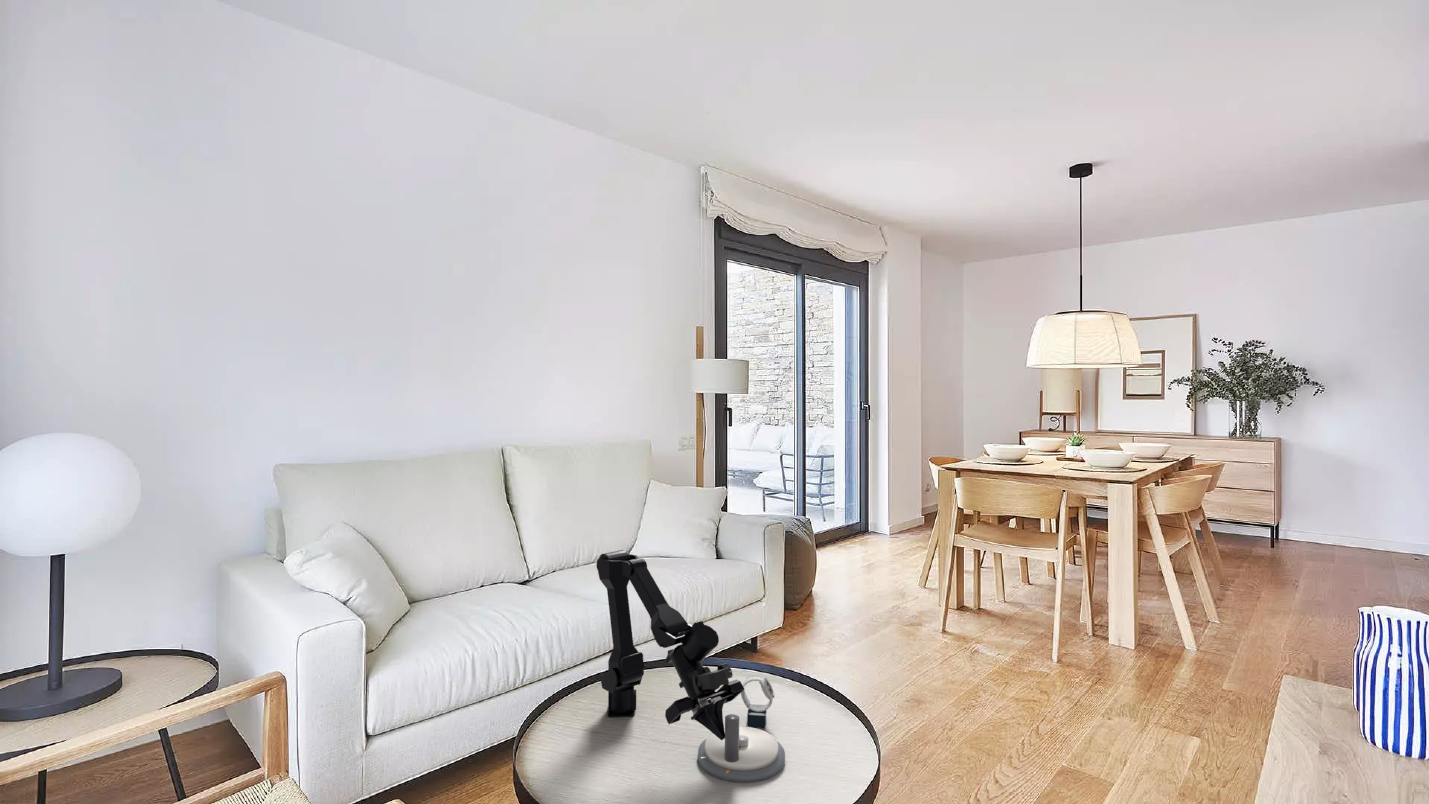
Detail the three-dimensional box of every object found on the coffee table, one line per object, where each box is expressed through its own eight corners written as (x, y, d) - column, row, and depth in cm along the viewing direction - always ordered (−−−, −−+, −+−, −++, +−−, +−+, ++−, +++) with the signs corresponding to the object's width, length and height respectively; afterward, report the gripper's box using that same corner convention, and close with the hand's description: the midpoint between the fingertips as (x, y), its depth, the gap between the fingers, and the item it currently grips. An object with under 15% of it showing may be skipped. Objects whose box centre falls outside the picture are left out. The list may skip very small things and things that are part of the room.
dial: (753, 779, 149) (753, 729, 149) (690, 754, 159) (690, 708, 158) (791, 746, 163) (792, 701, 162) (731, 725, 172) (731, 682, 171)
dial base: (701, 784, 150) (701, 776, 150) (695, 738, 169) (695, 731, 169) (792, 780, 152) (792, 773, 152) (776, 735, 171) (776, 728, 171)
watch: (773, 729, 174) (774, 683, 173) (739, 726, 175) (740, 681, 174) (774, 718, 179) (775, 673, 179) (741, 715, 180) (742, 672, 180)
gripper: (674, 663, 152) (708, 736, 144) (739, 643, 164) (774, 709, 156) (651, 688, 158) (682, 759, 150) (715, 667, 170) (747, 732, 162)
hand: (723, 739), depth 155 cm, fingers closed
